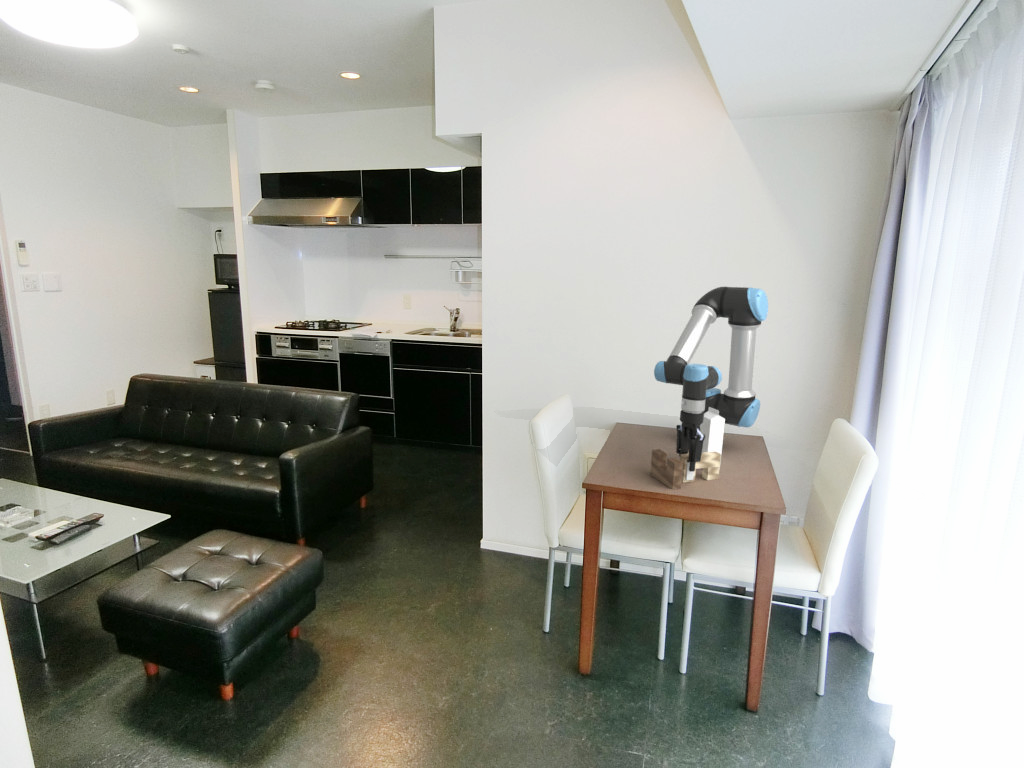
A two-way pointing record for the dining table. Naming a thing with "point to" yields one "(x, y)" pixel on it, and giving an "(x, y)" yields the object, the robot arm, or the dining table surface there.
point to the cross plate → (703, 466)
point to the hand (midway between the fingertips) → (686, 477)
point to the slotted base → (666, 469)
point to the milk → (712, 431)
